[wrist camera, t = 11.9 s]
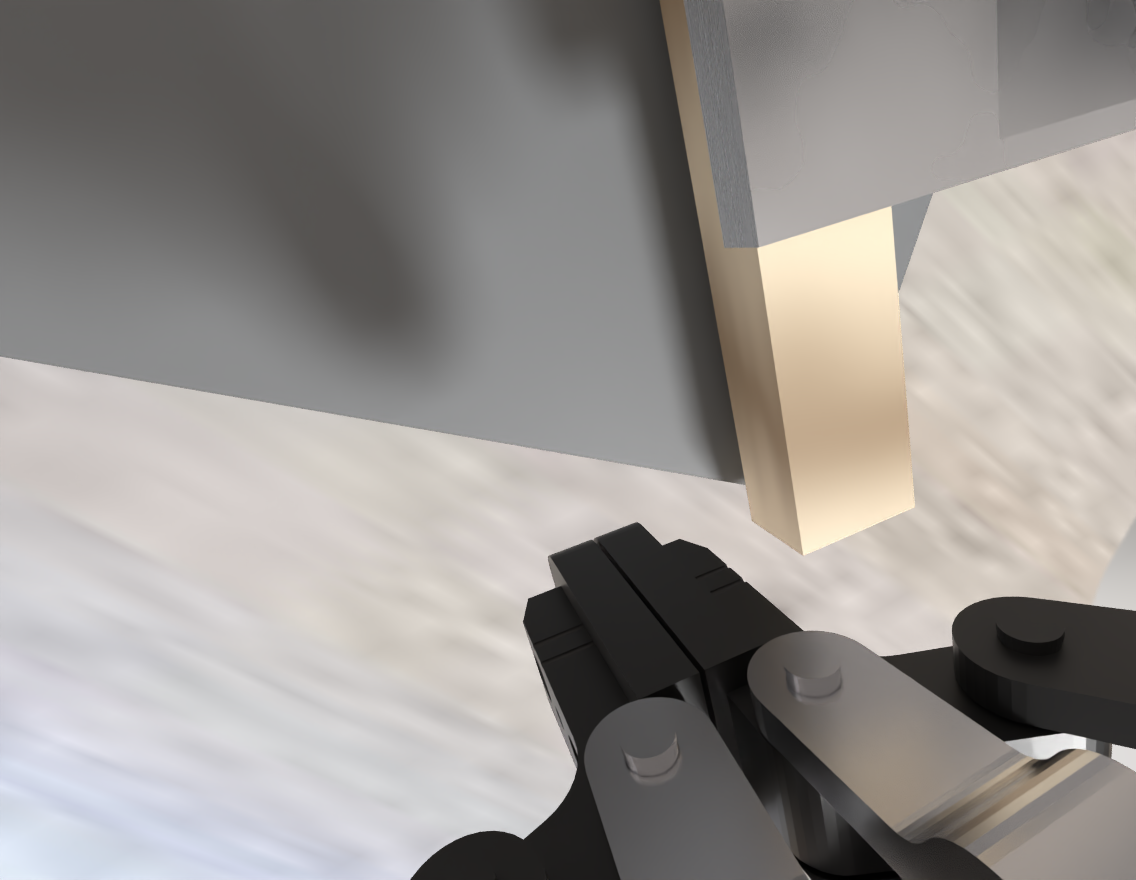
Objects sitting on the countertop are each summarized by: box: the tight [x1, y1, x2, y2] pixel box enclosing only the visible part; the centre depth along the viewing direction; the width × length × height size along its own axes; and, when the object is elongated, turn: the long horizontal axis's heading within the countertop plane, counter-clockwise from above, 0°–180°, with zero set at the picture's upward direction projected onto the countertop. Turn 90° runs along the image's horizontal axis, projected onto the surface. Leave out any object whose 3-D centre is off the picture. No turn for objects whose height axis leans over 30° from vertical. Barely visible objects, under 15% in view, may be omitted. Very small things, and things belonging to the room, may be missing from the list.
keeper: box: [683, 0, 1136, 248], centre depth 12 cm, size 4×8×5 cm, turn 105°
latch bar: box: [660, 0, 915, 556], centre depth 12 cm, size 21×4×3 cm, turn 15°
